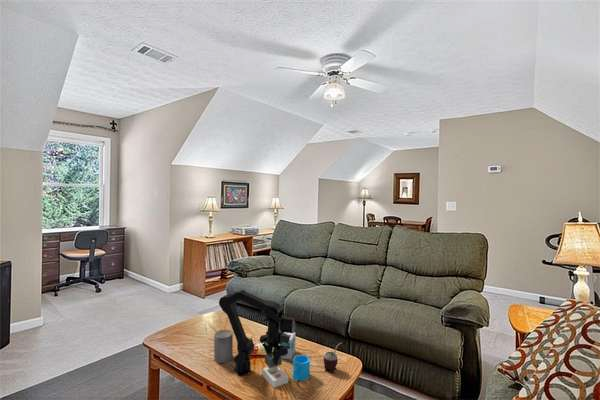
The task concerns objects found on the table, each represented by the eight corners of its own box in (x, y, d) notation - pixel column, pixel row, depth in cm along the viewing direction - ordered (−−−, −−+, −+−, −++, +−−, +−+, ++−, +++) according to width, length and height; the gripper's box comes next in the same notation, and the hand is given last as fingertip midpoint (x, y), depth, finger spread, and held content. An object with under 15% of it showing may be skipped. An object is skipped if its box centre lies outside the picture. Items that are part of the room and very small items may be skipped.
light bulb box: (291, 360, 169) (291, 340, 169) (279, 358, 170) (279, 338, 170) (295, 350, 179) (295, 331, 179) (284, 349, 181) (284, 330, 181)
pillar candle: (223, 352, 176) (223, 325, 176) (236, 357, 171) (236, 329, 171) (210, 360, 168) (210, 332, 167) (223, 365, 163) (223, 336, 162)
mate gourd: (321, 367, 161) (321, 338, 161) (334, 364, 165) (334, 336, 165) (328, 375, 155) (328, 345, 154) (341, 372, 158) (342, 342, 158)
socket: (273, 387, 144) (273, 379, 144) (262, 375, 154) (262, 367, 154) (288, 382, 148) (288, 375, 148) (275, 370, 158) (275, 363, 158)
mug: (297, 369, 160) (298, 353, 160) (312, 374, 156) (312, 357, 156) (286, 381, 149) (286, 364, 149) (301, 386, 145) (301, 369, 145)
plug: (270, 373, 149) (270, 359, 149) (264, 368, 154) (264, 354, 153) (281, 369, 152) (281, 356, 152) (275, 364, 157) (276, 351, 157)
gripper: (297, 333, 149) (297, 366, 149) (278, 320, 165) (278, 349, 165) (277, 339, 143) (276, 373, 143) (259, 324, 159) (258, 355, 159)
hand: (273, 362), depth 153 cm, fingers closed on plug, 6 cm apart
